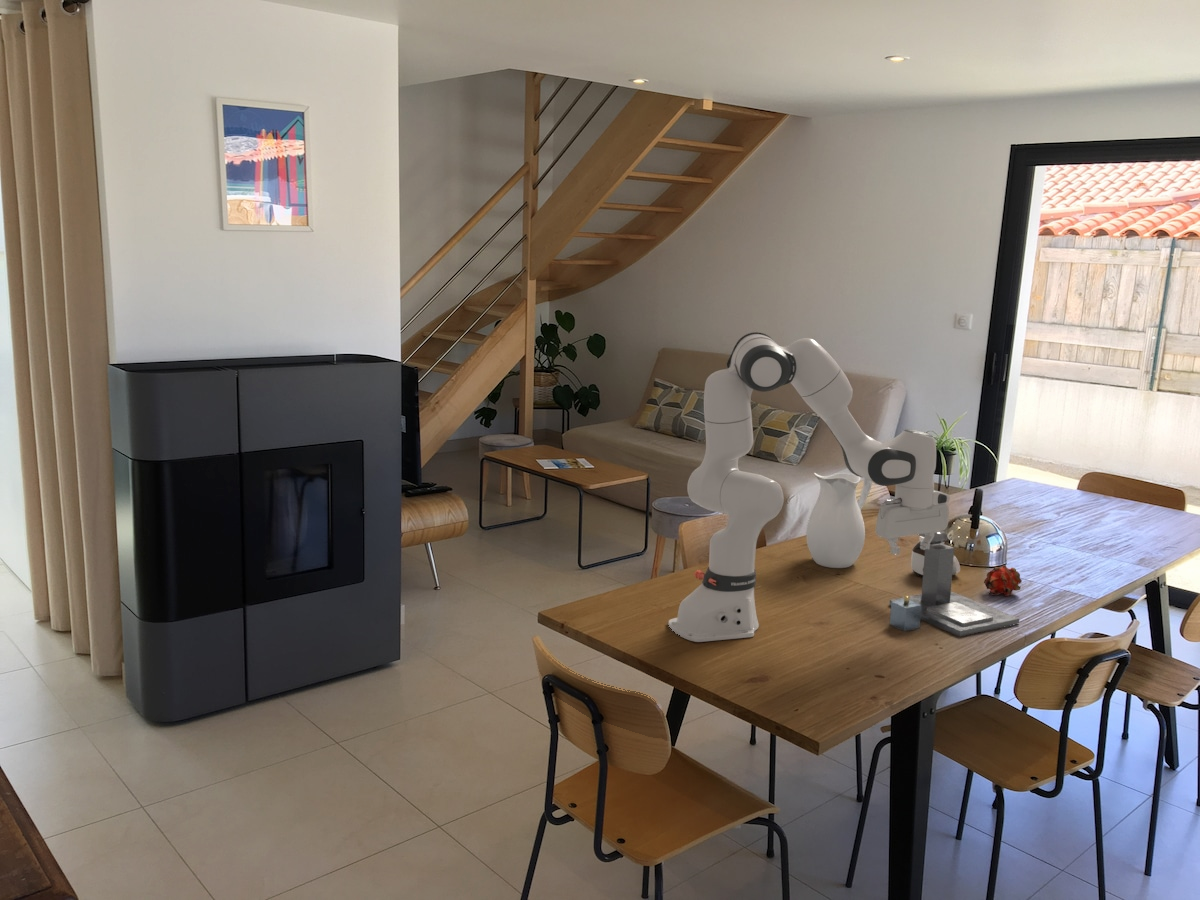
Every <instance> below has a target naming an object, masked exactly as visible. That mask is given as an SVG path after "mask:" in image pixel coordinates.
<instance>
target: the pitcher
mask: <svg viewBox="0 0 1200 900" xmlns="http://www.w3.org/2000/svg"><path fill="white" fill-rule="evenodd" d="M813 475H814V476H815V478H816V479H817V480H818V483H819V485H820V489H819V494H818V498H817V500H816V502H815V504H814V506H813V508H812V510H811V512H810V514H809V517H808V522H807V526H806V544H807V547H808V550H809V553H810V556H811V557H812V559H813V561H814V562H815V563H816V564H817V565H819V566H821V567H825V568H829V569H830V568H831V569H844V568H850V567H852V566H853V565H854V564H855V563H856V561H857V560H858V558H859V556H860V555H861V553H862V550H863V548H864V544H865V538H866V529H865V523H864V518H863V514H862V509H863V507H864V505H865V502H866V501H867V499H868V496H869V493H870V491H871V488H872V485H873V484H872V483H873V482H871V481H869V480H867V479H865V478H863V482H862V483H863V485H862V489H861V492H860V495H859V498H858V500H857V497H856V496H857V495H856V489H857V486H858V484H859V483H860V481H861V478H862V477H859V476H856V475H854V474H853V473H848V472H838V473H837V472H836V473H833V474H831V475H825V476H823V475H820V474H818V473H816V472H813Z"/></svg>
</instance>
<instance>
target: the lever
mask: <svg viewBox="0 0 1200 900" xmlns="http://www.w3.org/2000/svg"><path fill="white" fill-rule="evenodd" d="M916 536H919V537H920V536H922V537H925V534H917V535H916ZM948 538H949V537H948V534H947V533H946V531H945V530H944V531H937V532H935V534H934V537H933V539H932V541H931V543H930V544H932V545H933V544H940V543H944V544H945V543H947V542H948Z"/></svg>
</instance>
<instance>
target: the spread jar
mask: <svg viewBox="0 0 1200 900" xmlns="http://www.w3.org/2000/svg"><path fill="white" fill-rule="evenodd" d="M923 539H924V537H922V536H919V541H918V542H917V543H916V544H915V545H914V546H913V548H912V551H911V559H910V567H911V570H912V573H914V574H915V575H916V576H917V577H919V578H922V579H923V570H924V557H925V550H923V549H920V542H922V541H923ZM942 544H945V543H942ZM960 571H961V566H960V562H959V560H958V558H957V557H956V555H954V558H953V570H952V576H955V575H957V574H959V573H960Z"/></svg>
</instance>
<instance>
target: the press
mask: <svg viewBox="0 0 1200 900" xmlns="http://www.w3.org/2000/svg"><path fill="white" fill-rule="evenodd" d="M954 554H955V547H953V546H950V545H947V544H945V543H944V544H942V543H940V544H933V545H932V544H930V549H928V550H925V557H924V570H923V578H922V586H921V593H919V594H915V595H914V594H912V595H908V596H909V600H911V601H913V602H915V603H918V604H920V605H921V618H920V621H923V622H926V623H927V624H929V625H932V626H933V627H936V628H939V629H941V630H944V631H945V632H948V633H950V634H951V635H954V636H957V637H959V638H962V637H966V635H967V636H971V635H975V634H974V633H976V634H979V633H978V632H981V633H984V631H985V632H989V631H988V630H990V631H993V630H992V629H995V630H998V629H997V628H999V629H1001V628H1000V627H1004V626H1008V627H1011V626H1010V625H1013V624H1017V623H1019V624H1020V618H1019V617H1017V616H1014V615H1012V614H1009V613H1006V612H1004V611H1001V610H999V609H997V608H994V607H991V606H988V605H986V604H984V603H982V602H980V601H976V600H974V599H972V598H969V597H967V596H964V595H962V594H959V593H957V592H954V591H952V581H953V575H952V570H953V558H954V556H955V555H954ZM903 599H904V596H903V597H899V598H892V599H889V606H890V607H891V602H892V601H897V600H903ZM1013 626H1014V625H1013ZM1004 628H1005V627H1004ZM982 631H983V632H982ZM970 634H971V635H970Z"/></svg>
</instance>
